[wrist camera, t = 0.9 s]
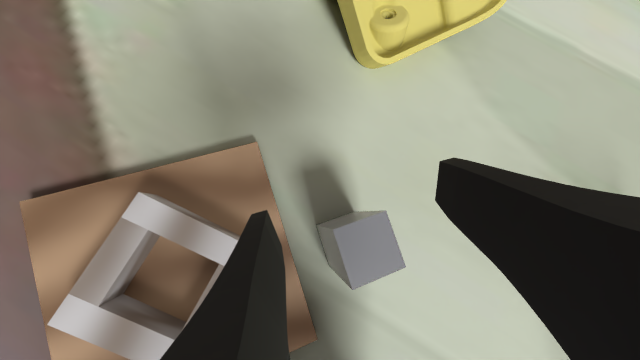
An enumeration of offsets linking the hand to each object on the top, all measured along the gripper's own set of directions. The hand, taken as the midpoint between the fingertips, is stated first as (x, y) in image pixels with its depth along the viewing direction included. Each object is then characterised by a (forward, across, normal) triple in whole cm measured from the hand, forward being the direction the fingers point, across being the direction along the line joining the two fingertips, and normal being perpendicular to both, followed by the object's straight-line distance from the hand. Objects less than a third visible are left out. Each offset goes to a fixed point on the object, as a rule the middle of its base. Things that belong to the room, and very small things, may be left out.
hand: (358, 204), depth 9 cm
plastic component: (+24, -15, -5) cm, 29 cm away
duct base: (+8, +14, +8) cm, 18 cm away
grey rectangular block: (+8, 0, +11) cm, 14 cm away
